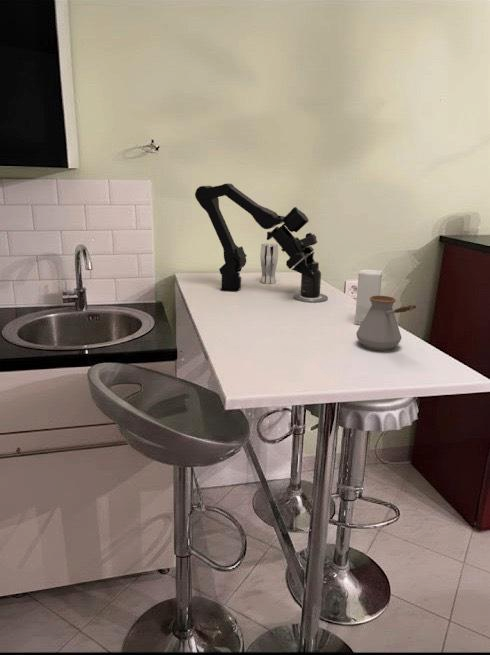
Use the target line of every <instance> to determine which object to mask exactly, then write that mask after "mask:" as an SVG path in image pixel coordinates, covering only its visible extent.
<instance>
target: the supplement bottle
mask: <svg viewBox="0 0 490 655" xmlns="http://www.w3.org/2000/svg"><path fill="white" fill-rule="evenodd" d="M306 264H307V265H308V267H309V268H310V270H311V272H312V273H313V275H314V278H313V279H311V278H309V277H307V276H305V275H303V274H301V273H300V274H301V276H300V278H301V280H300V281H301V282H300V293H301V296H302V297H305V298H317V297H319V296H320V294H321V284H322V283H321V280H322V272H321V271H320V269H319V267H320V266H319V265H320V264H319V262H318V261H315V262H312V261H310V262H306ZM318 269H319V270H318Z"/></svg>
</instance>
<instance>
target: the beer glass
mask: <svg viewBox="0 0 490 655" xmlns="http://www.w3.org/2000/svg"><path fill="white" fill-rule="evenodd" d="M259 256H260V257H259V258H260V259H259V260H260V267H261V277H260V278H261V279H260V283H261V284H263V285H264V284H265V285H275V284H276V283H277V281H276V280H277V279H276V270H277V265H278V260H279V244H278V243H277V244H276V243H262V244H261V245H260V255H259Z"/></svg>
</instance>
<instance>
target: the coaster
mask: <svg viewBox="0 0 490 655" xmlns="http://www.w3.org/2000/svg"><path fill="white" fill-rule="evenodd" d="M293 299H294V300H296V301H299V302H304V303H323V302H324V303H325V302H326V301H328V299H329V296H327V295H326V294H323V293H320V296H319V297H317V298H305V297H302V296H301V292H297V293H294V294H293Z"/></svg>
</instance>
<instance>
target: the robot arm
mask: <svg viewBox="0 0 490 655" xmlns="http://www.w3.org/2000/svg"><path fill="white" fill-rule="evenodd" d="M224 196H225V197H227V198H228V199H229V200H231V201H232V202H234V203H235V204H236V205H238V206H239V207H240V208H242V209H243V210H245V211H246V212H247V213H248V214H249V215H251V216H252V218H253V219H254V221H255V222H256V223H257V224H258V225H259V227H261V228H262V229H264V230H270V229H273V230H271V231H267V232H266V240H267V241H269V240H272V239H273V240H275V242H276V243H277V245H278V246H279V247H281V249H280V250H281V252H283V253H284V252H285V253H286V255H287V256H288V259H287V260H286V263H285V265H286V268H288V269H289V270H291V271H295V272H297V273H299V274H303V275H305V276H307V277H309V278H311V279H313V278H314V275H313V273H312V272H311V270H310V268H309V267H308V265H307V264H306V262H310V261H312V262H316V261H315V259H314V254H315V251H314V250H315V249H314V247H312V246H315V245H316V244H318V240H317V236H316V234H315V233H314V234H313V233H312V232H309V233H307V234H305V237H304V238H301V239H300V238H299V237H295V236H294V235H293V233H294V232H295V233H298V232H299V231H300V230H301V229H302V228H303V227H304V226H305V225H306V224H307V223H309V218H308V217H307V215H306V214H305V213H304V212H302V210H300V209H299V208H297V206H295V207H293V208H292V209H291V210H290V211H289V212H288V213H287V214H286V215H285V216H284V215H279V214H278V213H277V212H276V211H274V210H272V209H270V208H268V207H265V206H262V205H260V204H258V202H256V201H254V200H253V199H252V198H250V197H249V196H248V195H246V194H244V193H243V192H242V191H241V190H239V189H238V188H237V187H235V185H233V183H224V184H220V185H215V186H213V185H200V186H198V187H197V188H196V190H195V192H194V197H195V199H196V201H197V203H198V204H199V205H200V207H201V208H202V209H203V210H205V212H206V213H207V215H208V218H209V220H210V222H211V225H212V226H213V229H214V231H215V233H216V235H217V237H218V240H219V242H220V244H221V247H222V248H223V249H222V250H223V251H222V252H223V260H224V262H225V263H224V264H223V265H222V266H221V267H220V268H218V269H219V273H220V275H221V287H220V289H219V290H220V291H223V292H238V291H240V289H241V287H242V277H241V276H240V275H241V273H240V272H241V271H242V268H244V267H245V265H247V257H248V255H247V254H246V253H245V250H244V248H243V246H238V245H237V244H236V243H235V241H234V239H233V236H232V234H231V231H230V230H229V227H228V225H227V223H226V220H225V218H224V215H223V213H222V211H221V208H220V200H219V198H220V197H224ZM280 224H282V225H281V226H279V225H280ZM318 270H319V271H320V269H319V268H318Z"/></svg>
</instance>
